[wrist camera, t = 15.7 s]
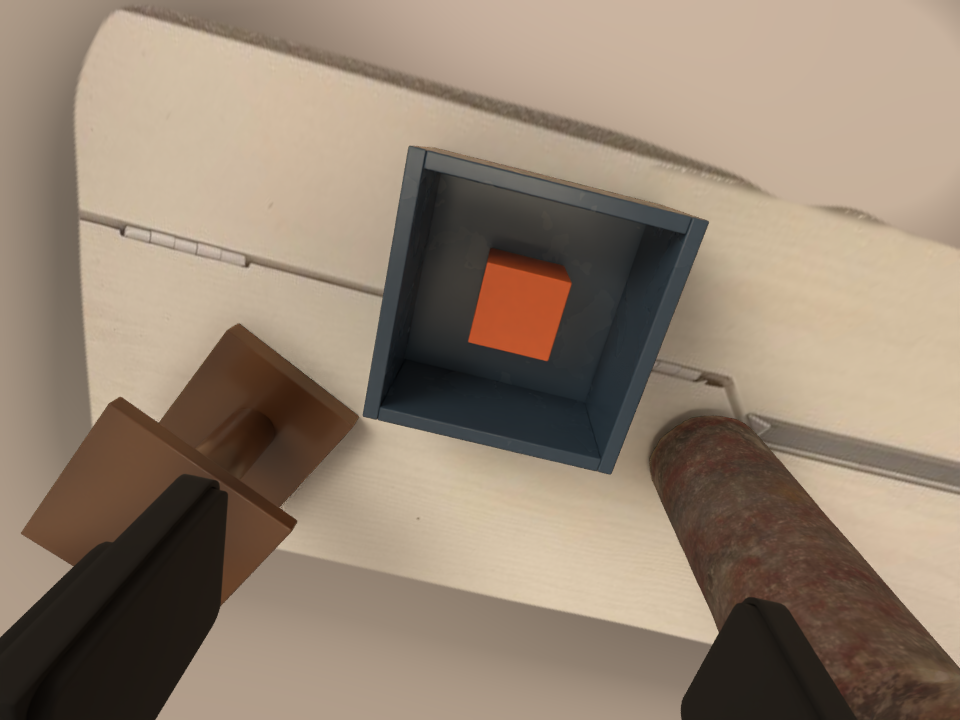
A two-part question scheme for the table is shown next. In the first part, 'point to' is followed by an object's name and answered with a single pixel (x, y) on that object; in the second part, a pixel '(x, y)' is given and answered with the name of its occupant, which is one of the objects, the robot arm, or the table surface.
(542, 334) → the orange block
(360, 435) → the table surface
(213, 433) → the serving stand
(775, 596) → the brown textured cylinder
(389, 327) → the blue open crate
